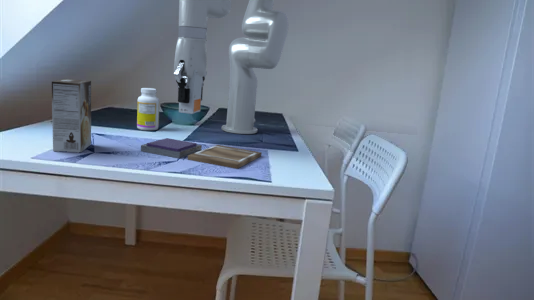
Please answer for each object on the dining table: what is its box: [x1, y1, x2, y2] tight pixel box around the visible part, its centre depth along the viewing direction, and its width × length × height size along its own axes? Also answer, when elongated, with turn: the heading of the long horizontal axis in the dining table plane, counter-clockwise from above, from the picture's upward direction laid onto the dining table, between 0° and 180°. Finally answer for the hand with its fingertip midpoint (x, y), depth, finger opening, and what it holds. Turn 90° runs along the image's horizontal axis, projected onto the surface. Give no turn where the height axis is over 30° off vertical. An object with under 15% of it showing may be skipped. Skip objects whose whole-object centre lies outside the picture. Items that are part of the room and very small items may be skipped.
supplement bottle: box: [136, 87, 160, 131], centre depth 129 cm, size 7×7×13 cm
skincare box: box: [178, 70, 202, 115], centre depth 113 cm, size 6×4×12 cm
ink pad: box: [140, 137, 203, 159], centre depth 105 cm, size 11×11×2 cm
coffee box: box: [51, 78, 92, 153], centre depth 97 cm, size 9×6×16 cm
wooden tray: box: [187, 144, 263, 170], centre depth 103 cm, size 16×13×1 cm
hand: (190, 100), depth 114 cm, fingers closed on skincare box, 6 cm apart
